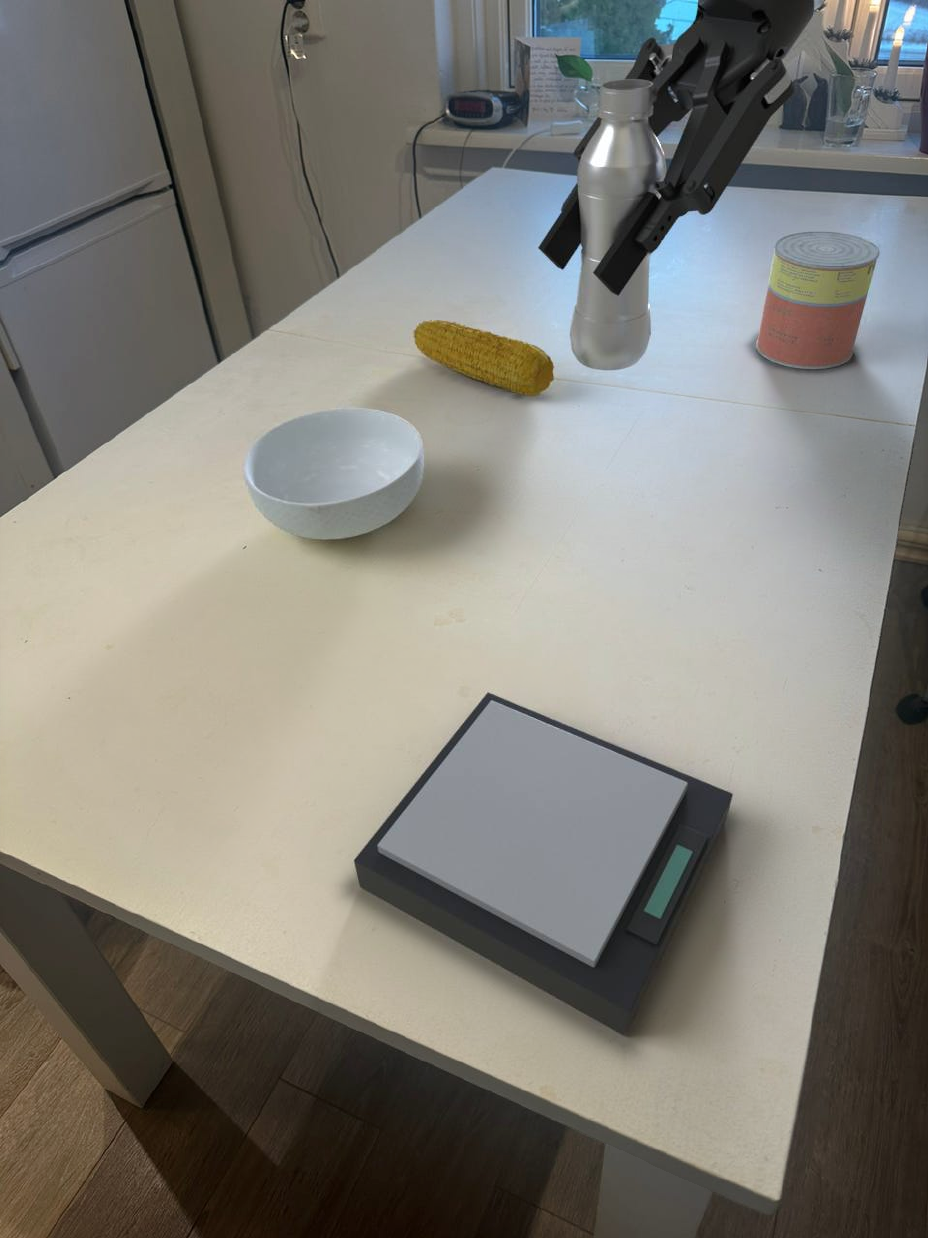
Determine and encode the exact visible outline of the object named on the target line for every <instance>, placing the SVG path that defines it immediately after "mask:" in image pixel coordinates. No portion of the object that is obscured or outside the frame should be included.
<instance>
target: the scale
mask: <svg viewBox="0 0 928 1238" xmlns="http://www.w3.org/2000/svg"><path fill="white" fill-rule="evenodd" d="M432 760H433V761H432V762H431V763H430V764H429V765H428V766H427V768H426V769H425V770H424V771H423V773H422V774H421V775H420V777H419V778H418V779H417V781H416V782H415V783H414V784H413V785H412V787H411V788H410V789H409V790H408V792H407V793H406V794H405V795H404V797H403V798H402V799H401V800H400V802H398V804H397V806H395V807H394V809H393V811H392V812H391V813H390V814H389V816H388V817H387V818H386V819H385V821H384V822H383V823H382V824H381V826H380V827H379V828H378V829H377V830H376V832H375V833H374V834H373V836H372V837H371V838H370V839H369V840H368V842H367V843H366V845H365V846H363V848H362V849H361V851H360V852H358V854H357V855H356V857H355V858H354V859H353V863H354V868H355V872H356V876H357V880H358V885H359V887H360V888H361V889H363V890H365V891H366V892H368V893H370V894H371V895H374V896H376V898H379V899H380V900H382V901H384V902H386V903H388V904H389V905H392V906H393V907H395V908H396V909H398V910H400V911H402V912H404V913H405V914H407V915H409V916H411V917H412V918H414V919H416V920H417V921H419V922H422V923H423V924H425V925H427V926H429V927H430V928H432V929H434V930H436V931H437V932H439V933H441V934H443V935H444V936H446V937H448V938H450V939H451V940H453V941H455V942H457V943H459V944H461V946H464V947H466V948H467V949H469V950H471V951H473V952H475V953H476V954H478V955H480V956H482V957H484V958H485V959H487V960H489V961H491V962H492V963H494V964H496V965H498V966H500V967H501V968H503V969H505V970H506V971H508V972H510V973H512V974H514V975H515V976H518V977H519V978H521V979H523V980H524V981H526V982H527V983H530V984H531V985H533V986H535V987H536V988H538V989H540V990H541V991H544V992H546V993H547V994H549V995H551V996H552V997H555V998H556V999H558V1000H559V1001H561V1002H564V1003H565V1004H567V1005H568V1006H570V1007H572V1008H574V1009H576V1010H578V1011H579V1012H581V1013H582V1014H584V1015H586V1016H588V1017H590V1018H591V1019H594V1020H595V1021H597V1022H599V1023H600V1024H602V1025H604V1026H606V1027H608V1028H610V1029H611V1030H612V1031H615V1032H617V1033H619V1034H620V1035H622V1036H624V1037H626V1036H627V1034H628V1032H629V1030H630V1027H631V1025H632V1024H633V1021H634V1020H635V1017H636V1015H637V1013H638V1010H639V1009H640V1006H641V1004H642V1002H643V1000H644V998H645V995H646V994H647V991H648V989H649V988H650V985H651V983H652V981H653V978H654V976H655V974H656V972H657V970H658V968H659V965H660V964H661V961H662V959H663V957H664V955H665V953H666V951H667V949H668V946H669V944H670V942H671V940H672V938H673V935H674V933H675V931H676V928H677V927H678V925H679V923H680V920H681V918H682V916H683V914H684V912H685V910H686V908H687V905H688V903H689V901H690V899H691V897H692V895H693V893H694V890H695V888H696V887H697V884H698V882H699V880H700V878H701V875H702V873H703V871H704V869H705V867H706V865H707V862H708V861H709V858H710V856H711V854H712V852H713V850H714V848H715V846H716V844H717V842H718V839H719V837H720V835H721V833H722V831H723V828H724V827H725V824H726V822H727V818H728V815H729V811H730V807H731V803H732V799H733V795H734V794H733V793H732V792H729V791H727V790H725V789H723V788H720V787H718V786H716V785H712V784H710V783H708V782H706V781H704V780H701V779H699V778H696V777H693V776H691V775H689V774H686V773H684V772H681V771H679V770H676V769H674V768H672V767H670V766H667V765H664V764H663V763H660V762H658V761H655V760H653V759H650V758H648V757H646V756H643V755H641V754H639V753H636V752H633V751H632V750H629V749H626V748H624V747H621V746H619V745H617V744H614V743H612V742H609V741H607V740H605V739H602V738H600V737H597V736H595V735H592V734H590V733H587V732H585V731H583V730H581V729H578V728H575V727H573V726H571V725H569V724H566V723H564V722H561V721H559V720H556V719H554V718H552V717H549V716H547V715H545V714H543V713H539V712H537V711H535V710H532V709H530V708H528V707H525V706H523V705H520V704H518V703H516V702H514V701H511V700H508V699H506V698H503V697H501V696H499V695H496V694H493V693H492V692H489V691H488V692H487V693H485V695H484V697H483V698H482V699H481V700H480V701H479V702H478V704H477V705H476V706H475V708H474V709H473V710H472V711H471V712H470V714H469V715H468V716H467V718H466V719H465V720H464V722H463V723H462V724H461V725H460V726H459V728H458V729H457V730H456V731H455V732H454V734H453V735H452V736H451V737H450V739H449V740H448V741H447V742H446V744H445V745H444V746H443V748H442V749H441V750H440V751H439V752H438V754H437V755H436V757H434V759H432Z"/></svg>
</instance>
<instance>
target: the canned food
mask: <svg viewBox="0 0 928 1238" xmlns="http://www.w3.org/2000/svg"><path fill="white" fill-rule="evenodd" d="M773 250H774V251H773V256H772V261H771V267H770V273H769V278H768V283H767V287H766V288H767V289H766V294H765V298H764V299H765V300H764V304H763V310H762V313H761V314H762V315H761V320H760V326H759V331H758V336H757V340H756V343H755V349H756V351H757V352H758V353H759V354H760V355H761V356H762V357H763V358H764V359H766V360H768V361H770V362H772V363H775V364H777V365H780V366H783V367H786V368H787V367H788V368H792V369H799V370H800V369H801V370H824V369H825V370H826V369H831V368H836V367H838V366H841V365H844V364H845V363H847V362H849V361H850V360H851V358H852V357H853V354H854V347H855V342H856V339H857V336H858V331H859V328H860V325H861V320H862V317H863V313H864V310H865V306H866V302H867V299H868V298H867V297H868V295H869V290H870V288H871V287H870V286H871V283H872V279H873V275H874V272H875V268H876V265H877V262H878V261H877V260H878V258H879V257H880V249H879V247H878V246H877V245H876V244H875V243H873V242H872V241H870V240H868V239H865V238H863V237H860V236H856V235H852V234H848V233H842V232H834V231H804V232H803V231H802V232H797V233H792V234H788V235H785V236H783V237H781V238H779V239H778V240H777V241H776V242H775V243H774V247H773Z"/></svg>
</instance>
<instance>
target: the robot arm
mask: <svg viewBox="0 0 928 1238" xmlns="http://www.w3.org/2000/svg"><path fill="white" fill-rule="evenodd" d="M824 2H825V0H697V6H696V7H697V8H696V14H695V18H694V20H693V22H692V23H691V24H690V26H689V27H687V29H686V30H685V31H684V32H682V33H681V34H680V35H679V36H678V37H677V38H676V40H675V42H674V43H670V44H663V45H659V42H658V41H657V39H656V38H655V37H650V38H648V39H646V40H645V41H644V42H643V44H642V45H641V47H640V50H639V52H638V54H637V57H636V58H635V62H634V63H633V66H632V68H631V69H630V71H629V72H628V73H627V75H626V76H625V78H624V79H640V80H647V81H650V82H652V83H653V100H652V105H653V114H652V115H651V116H650V117H648V124H649V126H650V127H651V129H652V131H653V132H654V134H655V136H656V137H657V138H658V137H659V136H660V135H661V134H662V133H663V132H664V131H665V130H666V129H667V128H668V126H669V125H670V124H671V123H673V122H680V121H682V120H683V119H684V118H685V117H686V115H687V114H688V113H689V112H690V114H689V117H688V120H687V121H686V124H685V127H684V129H683V132H682V134H681V136H680V139H679V141H678V143H677V146H676V149H675V150H674V154H673V157H672V158H671V161H670V163H669V166H668V167H667V170H666V176H665V178H664V180H663V181H661V182H658V183H657V182H655V184H654V186H655V188H656V190H657V191H658V192H659V194H660V195H661V197H660V199H659V198H658V197H657V196H656V194H654V193H651V192H647V193H646V195H645V196H644V198H643V199H642V201H641V202H640V204H639V205H638V207H637V208H636V210H635V211H634V212H633V214H632V215H631V217H630V218H629V220H628V221H627V223H626V224H625V226H624V227H623V229H622V230H621V232H620V233H619V235H618V236H617V238H616V239H615V241H614V242H613V244H612V245H611V247H610V248H609V250H608V251H607V253H606V254H605V255H604V257H603V258H602V260H601V261H600V263H599V264H598V266H597V267H596V269H595V270H594V272H593V274H594V275H595V276H596V277H597V278H598V279H599V280H600V281H601V282H602V283H603V284H604V285H605V286H606V287H607V288H608V289H609V290H610V291H611V292H612V293H614V294H616V295H618V296H619V294H620V293H621V291H622V290H623V288H624V287H625V286H626V284H627V283H628V281H629V280H630V278H631V277H632V275H633V274H634V272H635V271H636V269H637V268H638V267H639V265H640V264H641V262H642V261H643V259H644V258H645V256H646V255H647V253H650V254H653V253H654V252H655V251H656V250H657V249H658V248H659V246H660V245H661V244H662V242H663V241H664V239H665V238H666V236H667V235H668V234H669V232H670V231H671V229H672V228H673V226H674V225H675V224H676V222H677V220H678V219H679V218H680V217H683V216H685V215H687V214H688V213H689V212H698V213H699V214H700V215H702V216H703V215H704V216H705V215H708V214H709V213H711V211H713V209H714V208H715V206H716V204H717V203H718V201H719V200H720V198H721V196H723V194H724V192H725V190H726V189H727V187H728V185H729V184H730V182H731V181H732V179H733V177H734V176H735V174H736V173H737V171H738V170H739V168H740V166H742V163H743V162H744V160H745V158H746V157H747V155H748V153H749V152H750V150H751V149H752V147H753V146H754V144H755V143H756V141H757V140H758V138H759V136H760V135H761V133H762V132H763V130H764V128H765V127H766V125H767V124H768V122H769V120H770V119H771V117H772V116H773V115H774V114H775V113H776V112H777V111H778V110H779V109H780V108H781V107H782V106H783V105H784V104H785V103H786V102H787V101H788V100H789V99H790V98H791V97H792V96H793V94H794V93H795V91H796V86H795V84H794V82H793V80H792V78H791V76H790V73H789V72H788V70H787V68H786V66H785V64H784V62H783V60H784V59H785V58H786V57H787V55H788V54H789V52H790V50H791V49H792V47H793V46H794V45H795V43H796V42H797V41H798V39H799V38H800V36H801V35H802V34H803V32H804V30H805V28H806V27H807V26H808V24H809V23H810V21H811V20H812V19H813V16H814V13H815V10H817V9H819V8H820V7H821V6H822V4H823V3H824ZM669 89H670V91H671V93H672V95H673V96H674V97H675V99H676V100H677V101H675V99H674V98H673V96H672V95H671V93H670V91H669ZM601 120H602V118H600V117H598V116H597V117H596V119H595V120H594V122H593V123H592V125H591V126H590V127H589V129H588V130H587V132H586V133H585V134H584V135H583V138H582V139H581V140H580V142H579V143H578V145H577V146H576V147H575V149H574V151H573V157H574V158H575V159H576V161H577V162H578V163H579V162H580V159H581V155H582V154H583V152H584V150H585V148H586V146H587V145H588V143H589V141H590V140H591V138H592V137H593V135H594V134H595V132H596V131H597V130H598V128H599V127H600V125H601ZM658 184H659V185H658ZM705 185H706V187H705ZM580 246H581V219H580V208H579V196H578V185H577V182H576V183H575V185H574V186H573V188H572V190H571V191H570V193H569V194H568V195H567V197H566V199H565V200H564V202H563V203H562V206H561V208H560V213H559V214H558V217H557V218H556V220H555V221H554V223H553V224H552V226H551V227H550V228H549V230H548V232H547V234H546V235H545V237H543V239H542V241H541V242H540V244H539V246H538V247H537V249H538V250H540V252H541V253H542V254H543V255H545V256H546V258H547V259H548V260H549V261H550V262H551V263H552V264H553V265H554V266H555V267H557V268H558V269H561V270H562V271H564V269H565V268H566V266H568V264H569V262H570V260H571V259H572V257H573V256H574V254H575V253H576V252H577V250H578V249H579V247H580Z"/></svg>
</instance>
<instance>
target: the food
mask: <svg viewBox="0 0 928 1238" xmlns="http://www.w3.org/2000/svg"><path fill="white" fill-rule="evenodd" d="M412 333H413V339H414V344H415V346H416V348H417V349H418V351H420V352H421V354H423V355H424V356H426V357H427V358H429V359H430V360H432V361H434V362H436V363H437V364H440V365H441V366H445V367H447V368H449V369H452V370H453V371H455V372H457V373H460V374H463V375H464V376H467V377H468V378H472V379H474V380H478V381H480V382H484V383H485V384H488V385H491V386H495V387H499V388H500V389H505V390H507V391H509V392H512V393H515V394H519V395H521V396H523V395H524V396H528V397H533V396H538V395H540V394H541V393H543V392H544V391H546V390H547V389H548V388H549V387H551V383H552V382H553V381H555V376H554V368H555V366H554V362H553V361H552V359H551V356H550V355H548V353H546V352H545V350H543V348H540V347H539V346H537V345H535V344H531V343H529V342H527V341H522V340H519V339H514V338H509V337H507V336H505V335H503V336H501V335H499V334H495V333H492V332H491V331H486V330H482V329H479V328H473V327H469V326H467V325H466V324H460V323H457V322H455V321H453V322H452V321H448V320H438V319H436V320H432V319H430V320H428V321H426V320H425V321H423V322H421V323H418V325H417V326H416V328H415V330H413V331H412Z"/></svg>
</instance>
